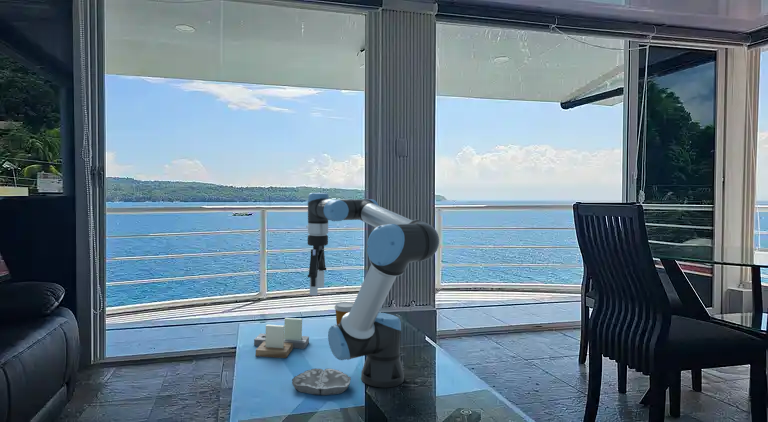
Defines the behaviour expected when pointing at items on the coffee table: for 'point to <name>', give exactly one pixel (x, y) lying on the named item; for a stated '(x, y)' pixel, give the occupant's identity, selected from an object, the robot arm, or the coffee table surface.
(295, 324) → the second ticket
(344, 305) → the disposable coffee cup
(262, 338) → the grey slotted plate
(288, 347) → the frame
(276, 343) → the pale green slab
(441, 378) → the coffee table surface
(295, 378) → the brain slice
